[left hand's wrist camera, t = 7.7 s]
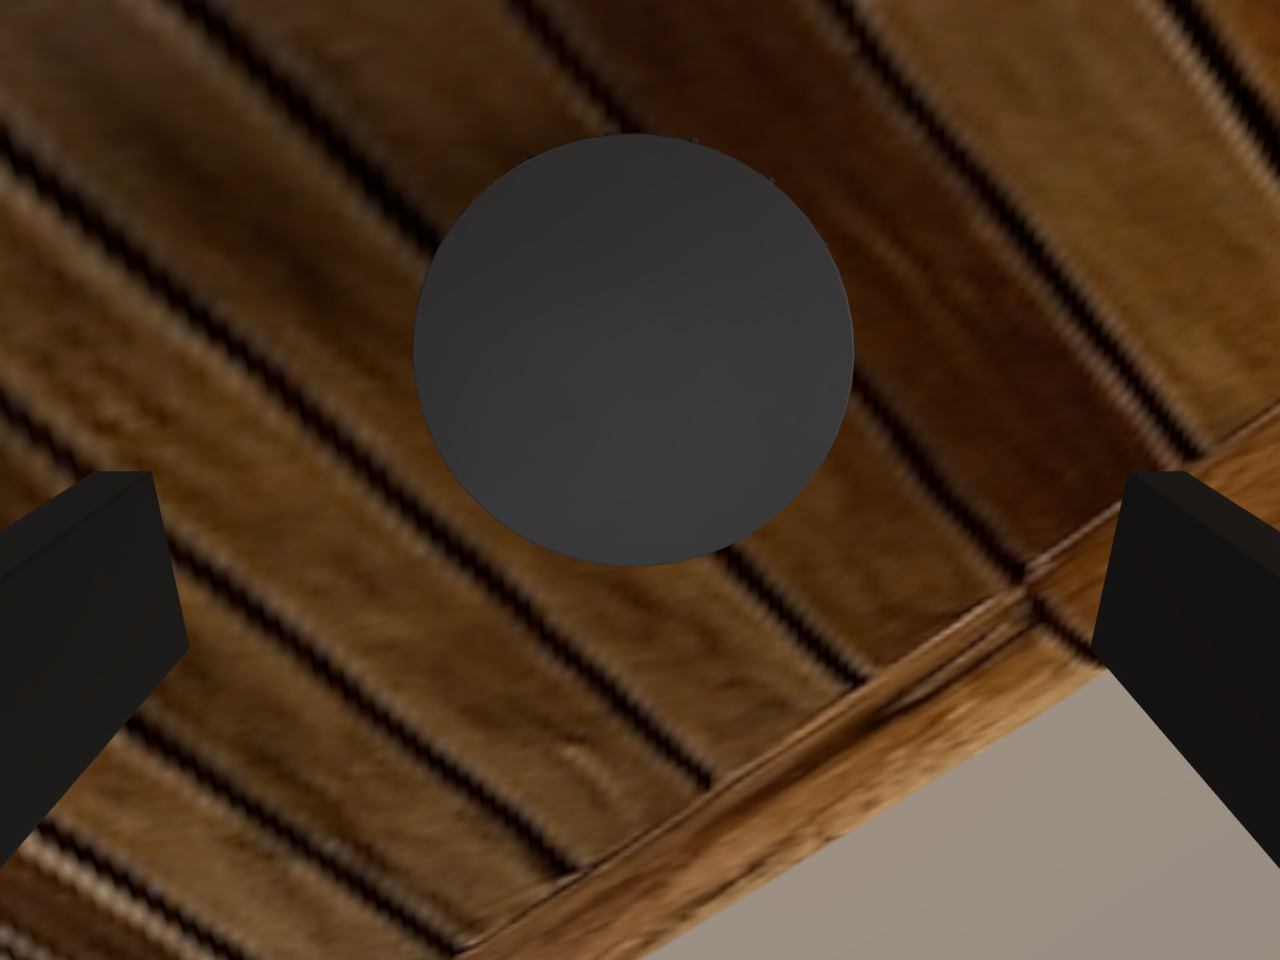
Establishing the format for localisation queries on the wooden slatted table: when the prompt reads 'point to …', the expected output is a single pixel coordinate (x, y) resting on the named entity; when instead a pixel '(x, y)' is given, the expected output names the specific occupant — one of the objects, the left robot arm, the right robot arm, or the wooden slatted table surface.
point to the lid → (633, 349)
